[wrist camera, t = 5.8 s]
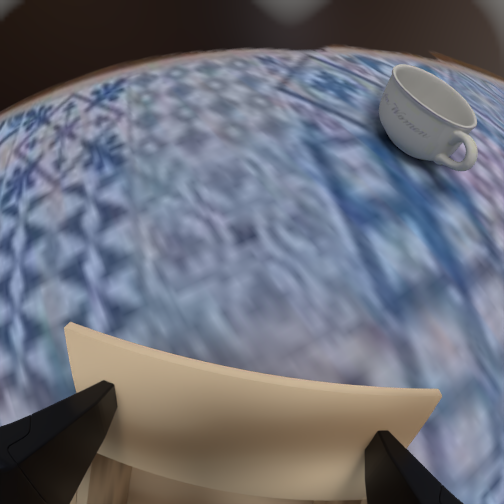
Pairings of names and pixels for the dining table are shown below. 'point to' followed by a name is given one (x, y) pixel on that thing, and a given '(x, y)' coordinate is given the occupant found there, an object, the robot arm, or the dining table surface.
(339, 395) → the flap
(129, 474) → the tan wooden open box
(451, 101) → the teacup
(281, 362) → the dining table surface
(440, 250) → the dining table surface
